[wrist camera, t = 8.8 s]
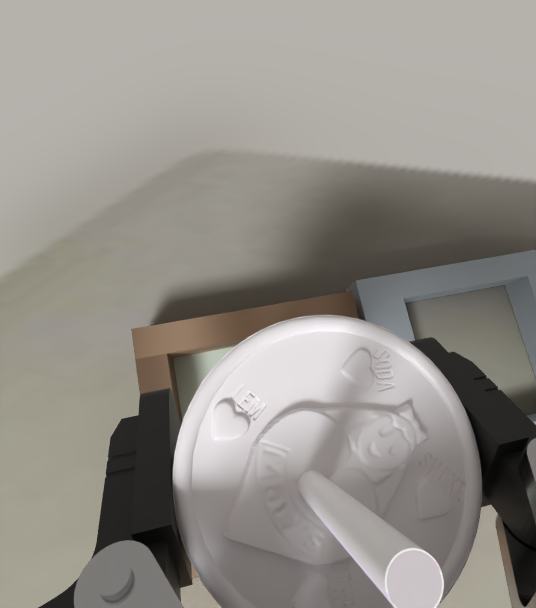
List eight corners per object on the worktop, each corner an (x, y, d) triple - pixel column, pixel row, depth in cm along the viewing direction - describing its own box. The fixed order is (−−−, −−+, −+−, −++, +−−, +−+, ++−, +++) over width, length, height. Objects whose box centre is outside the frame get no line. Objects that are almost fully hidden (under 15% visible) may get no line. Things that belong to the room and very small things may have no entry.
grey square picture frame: (531, 257, 27) (555, 246, 25) (590, 427, 24) (622, 429, 22) (345, 289, 25) (355, 280, 23) (391, 476, 22) (407, 484, 21)
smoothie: (172, 399, 17) (-13, 396, 4) (302, 332, 18) (529, 146, 5) (239, 545, 16) (338, 1312, 3) (372, 464, 17) (901, 688, 4)
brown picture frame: (336, 303, 24) (351, 290, 21) (384, 503, 22) (409, 520, 19) (143, 337, 23) (131, 329, 20) (173, 559, 20) (165, 586, 18)
